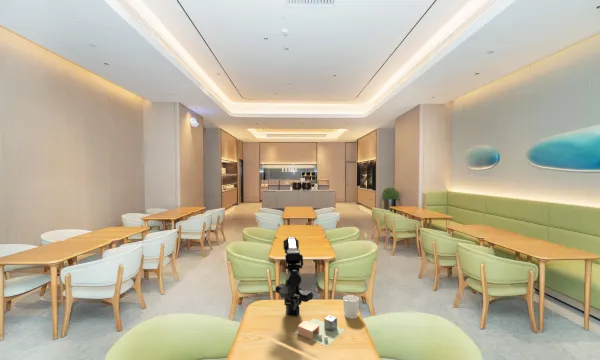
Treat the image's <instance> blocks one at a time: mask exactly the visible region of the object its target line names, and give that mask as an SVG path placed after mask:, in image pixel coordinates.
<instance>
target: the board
mask: <svg viewBox="0 0 600 360" xmlns="http://www.w3.org/2000/svg"><path fill="white" fill-rule="evenodd" d="M308 322H311V323H314V324H316V325H319V334H317V333H315V332H313V339H310V338H308V337H305V336H303V335H300V334H298V329H297V330H296V331H294V334H295V335H299V336H301V337H304V338H306V339H309V340H311V341H313V342H316V343H318V344H321V345H323V346H324V347H325V346H326V347H329V346H330V345H331V343H333V342H334V341H335V340H336V339H337V338H338V337H339V336H341V334H343V333H344V331H346V330H345V329H344V328H341V327H339V326H337V328H336V329H335V330H334V331H333V332H331V331H328V330H326V329H324V321H322V320H319V319H317V318H314V317H312V319H310V320H309V321H308Z"/></svg>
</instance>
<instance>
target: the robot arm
mask: <svg viewBox="0 0 600 360" xmlns="http://www.w3.org/2000/svg"><path fill="white" fill-rule="evenodd" d="M282 245H283V248H282V249H283V250H284V256H285V257H284V259H285V269H286V270H287V279H286V280H285V283H283V282H282V283H280V284H279V285H277V286H276V287H274V288H275V291H274V292H275V293H277V294H279V296H280V298H281V299H284V301H283V302H284V306H285V313H286V314H287V316H289V317H290V316H292V317H299V315H300V306H301V304H302V303H303V302H304V303H307V302H309V301H311V300H312V299H313V298H314V294H313V292H312V291H310V290H304V291H302V287H301V286H300V285H301V283H302V275H301V273H300V272H301V271H300V269H303V266H304V256H303V254H302V253H301V252H300V249H299V248H300V245H299V240H298V239H297V236H287V237H286V239H285V240H283V244H282Z"/></svg>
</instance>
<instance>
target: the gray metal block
mask: <svg viewBox="0 0 600 360" xmlns="http://www.w3.org/2000/svg"><path fill="white" fill-rule="evenodd" d="M323 322H324V329H326V330H328V331H331V332H333V331H334V330H335V329H336V328H337V327H338V317H336V316H334V315H330V314H329V315H327V316H325V318H324V319H323Z"/></svg>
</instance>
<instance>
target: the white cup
mask: <svg viewBox="0 0 600 360" xmlns="http://www.w3.org/2000/svg"><path fill="white" fill-rule="evenodd" d="M342 299H343V300H342V301H343V302H342V303H343V313H344V317H345V318H347V319H351V320H352V319H357V318H358V315H359V314H358V313H359V306H360V305H359V303H360V302H359V301H360V299H359V297H358V296H357V295H354V294H346V295H344V296H343V297H342Z"/></svg>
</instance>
